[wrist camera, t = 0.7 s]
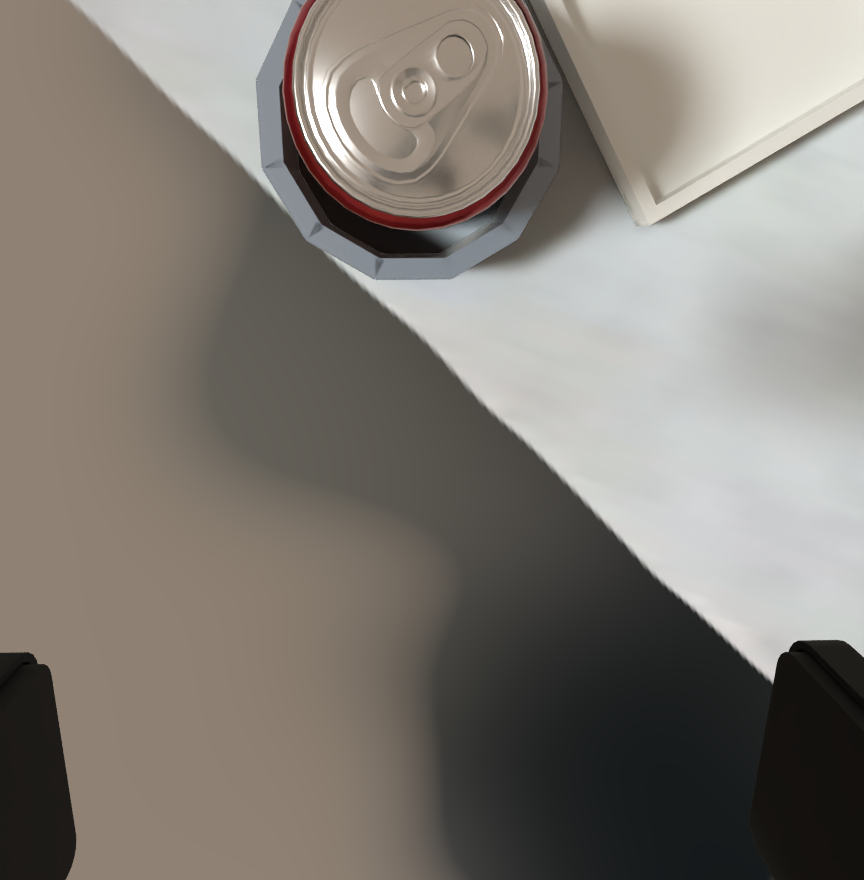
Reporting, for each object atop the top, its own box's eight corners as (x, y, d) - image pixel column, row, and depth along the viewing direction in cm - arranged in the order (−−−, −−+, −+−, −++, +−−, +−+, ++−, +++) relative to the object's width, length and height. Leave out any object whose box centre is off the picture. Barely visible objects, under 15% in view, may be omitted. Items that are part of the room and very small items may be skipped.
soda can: (388, 261, 32) (383, 282, 20) (287, 113, 30) (220, 44, 18) (526, 164, 31) (602, 129, 19) (432, 4, 29) (456, -138, 18)
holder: (457, -67, 28) (468, -118, 24) (581, 188, 31) (611, 183, 27) (225, 86, 30) (196, 62, 25) (366, 317, 33) (362, 332, 28)
